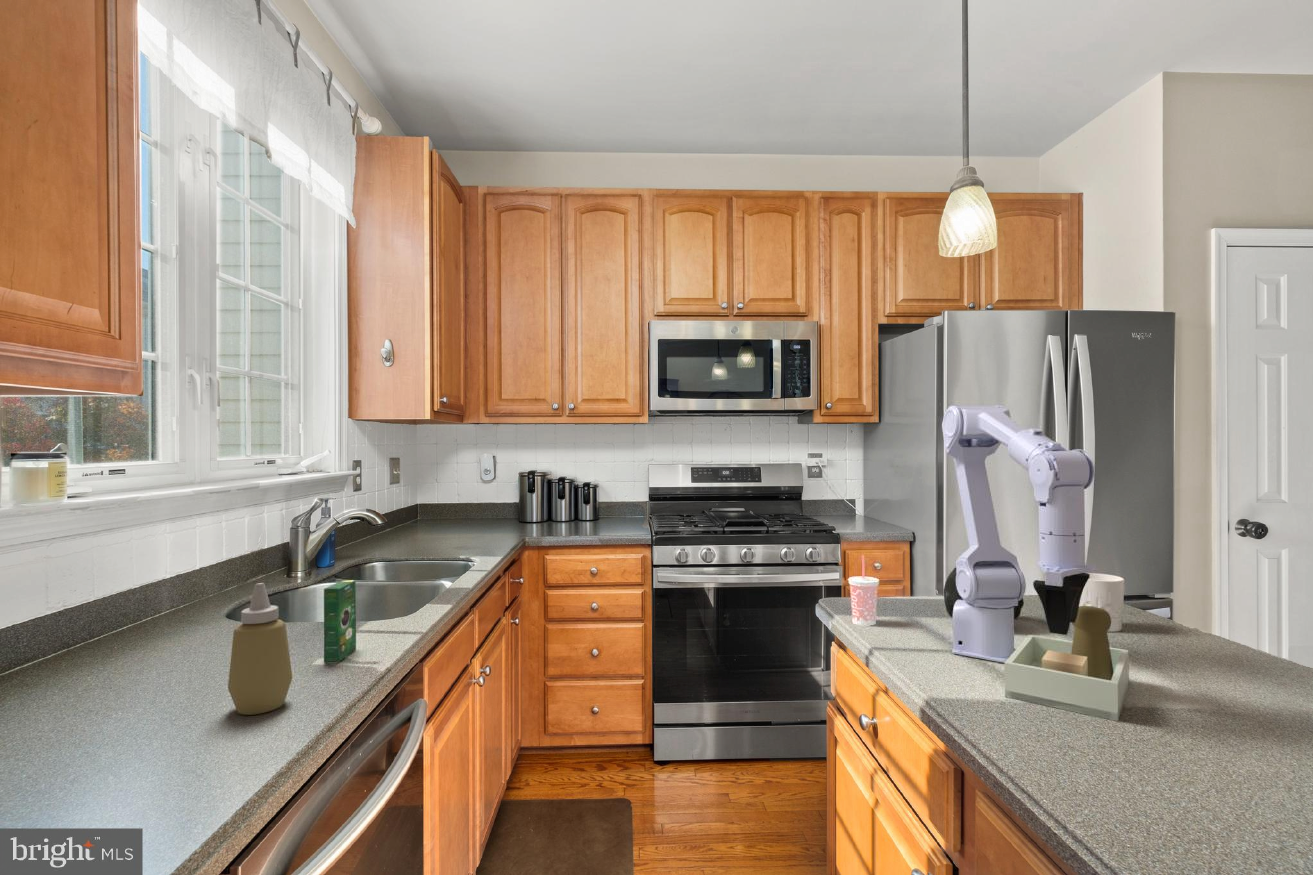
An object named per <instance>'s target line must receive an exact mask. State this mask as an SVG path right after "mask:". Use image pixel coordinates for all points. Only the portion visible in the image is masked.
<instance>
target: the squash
mask: <svg viewBox="0 0 1313 875" xmlns="http://www.w3.org/2000/svg"><path fill="white" fill-rule="evenodd" d="M973 566H995V565H993V564H984V565H973ZM943 597H944V598H943V602H944V606H945V610H946V612H947V614H948V615H949V616H950V617H951V618H952V619H953V609H954V605H955V602H956V601H957V600H963V598H962V597H961V596H960V595H959V593H958V590H957V587H956V566H955V567H954V568H953V570H952V571H951V572H950V573H949V574H948V576H947V578H946V581H945V583H944V587H943ZM1024 602H1025V601H1024V597H1023V598H1022V599H1021V600H1019V601H1018V606H1014V621H1015V620H1016V619H1018V618H1019V616H1020V615H1021V612H1022V608H1023V607H1024V604H1025V603H1024Z"/></svg>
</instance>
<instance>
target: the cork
mask: <svg viewBox="0 0 1313 875" xmlns="http://www.w3.org/2000/svg"><path fill="white" fill-rule="evenodd" d="M1071 624H1072V625H1073V627H1074V632H1073V637H1072V638H1073V639H1072V641H1073V645H1072V652H1071V654H1074V655H1080V656H1085V657H1087V662H1088V677H1094V678H1099V679H1105V680H1110V681H1111V679H1112V676H1113V674H1114V671H1113V665H1112V659H1111V653H1110V647H1111V646H1110V643H1109V642H1110V641H1109V637H1108V636H1109V635H1108V632H1107V631H1108V630H1109V628H1110V626H1111V617H1110V615H1109V613H1108V612H1107V611H1106V610H1104V609H1101V608H1097V607H1093V606H1079V609H1078V614H1077V618H1076V621H1075V623H1072V622H1071Z"/></svg>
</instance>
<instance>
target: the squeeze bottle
mask: <svg viewBox="0 0 1313 875" xmlns="http://www.w3.org/2000/svg"><path fill="white" fill-rule="evenodd" d="M240 617H241V618H240V620H241V624H240V625H238V626H237V627H236V628H234V629H233V636H232V645H231V653H230V663H229V672H228V683H227V690H228V692H229V695H230V697H231V700H232V703H233V705H234V707H235V709H236V712H237V713H238V714H240V713H241V714H240V715H259V714H264V713H268V712H272V711H274V710H277V709H279V708H280V707H282V706H283V705H284V704H285V702H286V698H287V695H288V693H289V689H290V686H291V683H292V680H293V673H292V672H293V671H292V663H291V656H290V648H289V638H288V631H287V625H286V623H285V622H284V621H283V620H282V619H278V618H279V606H278V605H274V604H273V605H272V604H271V603H270V599H269V596H268V591H267V587H266V585H265V583H264V582H259V583H255V584H254V587H253V592H252V597H251V601H250V605H249V607H248V608H244V609H243V610H241V612H240Z"/></svg>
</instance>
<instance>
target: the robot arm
mask: <svg viewBox="0 0 1313 875" xmlns="http://www.w3.org/2000/svg"><path fill="white" fill-rule="evenodd" d="M941 430H942V435H943V440H944V441H943V442H944V446H945V450H946V454H947V455H949V456H951V457H952V458H953V462H954V463H953V464H954V469H955V473H956V481H957V484H958V490H959V491H958V493H959V496H960V503H961V508H962V514H963V518H964V519H963V520H964V526H965V531H966V536H967V542H968V543H967V544H968V548H967V549H966V550H965V551H964V552H963V553H962V554H961V555H960V556H959V557H958V558H957V559H956V560H955V567H956V587H957V590H958V593H959V595H960V596H961V597H962V598H963V600H957V601H956V602H955V605H954V609H953V618H952V650H951V653H952V654H955V655H960V656H967V657H970V658H976V659H983V660H986V661H992V662H998V663H1004V664H1005V662H1006V661H1007V659H1008V658H1009V657H1010V656H1011V655H1012V654H1013V652H1014V651H1015V650H1016V649H1017V648H1015V620H1014V606H1018V601H1019V600H1021V599H1022V598H1023V599H1024V596H1025V594H1026V590H1027V584H1026V578H1025V575H1024V573H1023V572H1022V570H1021V568H1020V565H1019V562H1018V559H1017V556H1016V555H1015V554H1013V553H1012V552H1011V551H1010V550H1008V549H1006V548H1005V547H1004V546H1002V545H1001V539H1000V535H999V530H998V525H997V524H998V523H997V520H996V519H997V518H996V514H995V508H994V503H993V497H992V493H991V489H990V483H989V477H988V473H987V472H988V471H987V468H986V459H987V458H988V457H989V456H991V455H993V454H995V453H996V452H997V450H998V449H999V447H1000V445H1003V446H1006V447H1007V452H1008V456H1009V457H1010V459H1012V460H1013V461H1014V462H1016V463H1017V464H1018V465H1019V466H1020V467H1022V468H1023V469H1025V470H1026V471H1027V472H1028V476H1029V480H1030V483H1031V485H1032V487H1033V497H1034V499H1035V501H1036V502H1038V558H1039V559H1038V561H1037V568H1038V569H1039V570H1041V572H1043V573H1044V580H1038V579H1035V580H1033V583H1032V586H1033V589H1034V590H1035V592H1036V594H1037V595H1038V598H1039V600H1040V602H1041V605H1042V607H1043V612H1044V615H1045V622H1046V624H1047V628H1048V631H1049V633H1051V634H1057V635H1063V636H1067V635H1068V633H1069V630H1070V626H1071V624H1072V623H1075V621H1076V618H1077V614H1078V609H1079V604H1080V599H1081V595H1082V592H1083V589H1084V587H1085V584H1086V583H1087V581H1088V579H1089V578H1090V574H1087V573H1096V566H1095V565H1092V564H1091V565H1090V564H1086V521H1085V520H1086V519H1085V518H1086V514H1085V504H1086V503H1085V490H1086V489H1088V488H1089V487H1090V486H1091V485H1092V483H1093V481H1094V478H1095V466H1094V462H1093V459H1092V458H1091V456H1090V455H1089V454H1088V453H1086V451H1085V450H1084V449H1079V448H1077V449H1072V450H1070V449H1068V450H1067V449H1066V448H1065V447H1063V446H1062V444H1061V443H1060V442H1057V441H1055V440H1052V439H1051V438H1049V437H1048V436H1047V435H1045V434H1044V430H1042V429H1041V428H1031V427H1030V428H1026V429H1024V428H1023V427H1022V426H1020V425H1019V424H1018V423H1017V422H1016V421H1014V420H1013V419H1012V418H1011V413H1010V410H1009V409H1008V408H1006V407H1005V406H1004V405H1000V404H996V405H977V406H976V405H975V406H974V405H970V406H968V405H967V406H965V405H962V406H961V405H960V406H958V405H950V406H949V407H948V408H947V409H946V411H945V413H944V416H943V418H942V423H941ZM984 564H993V565H995V566H973V565H984Z"/></svg>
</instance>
